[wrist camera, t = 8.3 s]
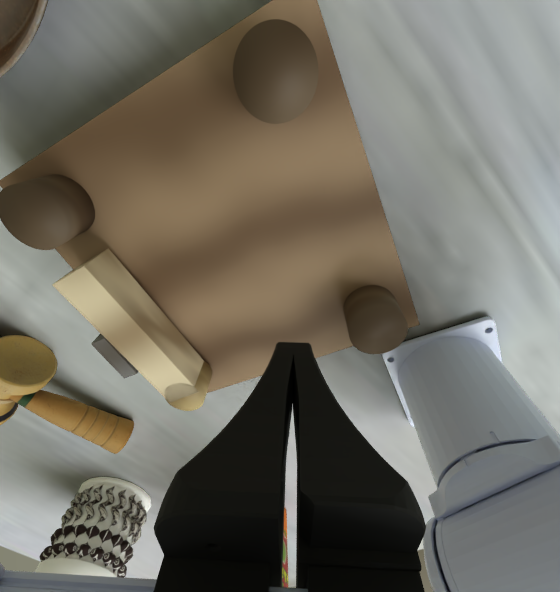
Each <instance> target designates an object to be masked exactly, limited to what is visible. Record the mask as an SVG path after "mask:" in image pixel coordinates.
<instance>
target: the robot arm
mask: <svg viewBox="0 0 560 592" xmlns="http://www.w3.org/2000/svg"><path fill="white" fill-rule="evenodd" d="M487 328H489V329H487ZM486 329H487V330H486ZM382 357H383V360H384V362H385V364H386V367H387V369H388V372H389V374H390V377H391V379H392V381H393V384H394V386H395V389H396V391H397V394H398V396H399V398H400V401H401V403H402V406H403V408H404V411H405V413H406V415H407V418H408V420H409V423H410V425H411V426H413V427H415V429H416V431H417V434H418V437H419V440H420V442H421V445H422V448H423V451H424V453H425V456H426V459H427V462H428V464H429V467H430V470H431V472H432V475H433V478H434V481H435V483H436V486H437V490H436V491H435V492H434V493H432V494H431V495H429V500H430V503H431V506H432V509H433V512H434V515H435V517H433V518H431V519H430V520H429V521H428V522H427V524H426V525H425V522H424V518H423V515H422V512H421V509H420V507H419V505H418V502H417V500H416V498H415V496H414V493H413V491H412V489H411V487H410V486H409V484H408V482H407V481H406V480H405V479H404V478H403V477H402V476H401V475H400V474H399V473H398V472H396V471H395V470H394V469H393V468H392V467H391V466H390V465H389V464H388V463H387V462H386V461H385V460H384V459H383V458H382V457H381V456H380V455H379V454H378V452H377V451H376V450H375V449H374V448H373V447H372V446H371V445H370V444H369V442H368V441H367V440H366V439H365V438H364V437H363V435H362V434H361V433H360V432H359V431H358V430H357V428H356V427H355V426H354V425H353V423H352V422H351V421H350V419H349V418H348V417H347V415H346V414H345V412H344V411H343V409H342V408H341V406H340V405H339V403H338V402H337V400H336V399H335V397H334V395H333V394H332V392H331V390H330V389H329V387H328V385H327V383H326V381H325V379H324V377H323V375H322V373H321V371H320V369H319V367H318V364H317V362H316V360H315V357H314V354H313V351H312V347H311V344H309V343H301V342H278V343H277V344H276V347H275V350H274V353H273V355H272V357H271V360H270V362H269V364H268V366H267V368H266V370H265V372H264V373H263V375H262V377H261V379H260V381H259V382H258V384H257V385H256V387H255V389H254V390H253V392H252V393H251V395H250V396H249V398H248V399H247V401H246V402H245V403H244V405H243V406H242V407H241V409H240V410H239V411H238V412H237V414H236V415H235V416H234V417H233V418H232V420H231V421H230V422H229V423H228V424H227V425H226V427H225V428H224V429H223V430H222V431H221V432H220V433H219V434H218V435H217V436H216V437H215V438H214V439H213V440H212V441H211V442H210V443H209V444H208V445H207V446H206V447H205V448H204V449H203V450H202V451H201V452H200V453H198V454H197V455H196V456H195V457H194V458H193V459H191V460H190V461H189V462H188V463H187V464H186V465H184V466H183V467H182V468H181V469H180V470H179V471H178V472H177V473H176V475H175V477H174V479H173V481H172V482H171V484H170V486H169V488H168V490H167V493H166V495H165V497H164V499H163V502H162V504H161V507H160V510H159V513H158V516H157V519H156V522H155V525H154V531H155V535H156V537H157V540H158V542H159V544H160V546H161V549H162V551H163V553H164V558H163V561H162V565H161V568H160V571H159V575H158V578H157V580H154V579H138V578H122V577H105V576H89V575H73V574H57V573H40V572H23V571H7V570H5V569H4V567H3V565H2V564H1V563H0V592H424V588H423V584H422V580H421V576H420V573H419V571H421V563H420V560H419V556H418V552H417V549H418V547H419V545H420V543H421V541H422V539H423V546H424V555H425V556H424V557H425V564H426V569H427V573H428V577H429V581H430V584H431V586H432V590H433V592H560V435H559V434H558V433H557V431H556V430H555V429H554V428H553V426H552V425H551V424H550V423H549V421H548V420H547V419H546V418H545V416H544V415H543V414H542V413H541V411H540V410H539V409H538V408H537V406H536V405H535V404H534V403H533V401H532V400H531V399H530V398H529V396H528V395H527V394H526V393H525V391H524V390H523V389H522V388H521V386H520V385H519V384H518V383H517V381H516V380H515V379H514V378H513V376H512V375H511V374H510V373H509V371H508V370H507V369H506V368H505V366H504V365H503V363H502V358H501V352H500V346H499V341H498V335H497V329H496V324H495V321H494V320H493V319H492V318H491V317H488V316H487V317H483V318H479V319H476V320H473V321H470V322H466V323H463V324H460V325H457V326H454V327H450V328H447V329H444V330H441V331H438V332H434V333H431V334H428V335H425V336H421V337H418V338H415V339H412V340H409V341H405V342H402V343H401V344H400V345H399V346H398V347H397V348H395V349H393V350H391V351H389V352H386V353H382ZM390 357H392V358H391V359H388V358H390ZM292 403H293V413H294V425H295V438H296V450H297V562H296V588H285V587H282V572H283V537H284V503H285V471H286V455H287V446H288V437H289V429H290V420H291V412H292Z"/></svg>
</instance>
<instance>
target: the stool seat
mask: <svg viewBox="0 0 560 592" xmlns="http://www.w3.org/2000/svg"><path fill="white" fill-rule="evenodd" d="M0 186H1V187H2V188H3V190H2V191H1V192H0V218H1V221H2V222H3V224H4V226H5V227H6V228H7V230H8V231H9V232H10V233H11V234H12V235H13V236H14V237H15V238H17V239H18V240H19V241H21V242H22V243H24V244H26V245H28V246H30V247H33V248H36V249H41V250H50V249H54V248H55V249H56V250H57V251H58V252H59V254H60V255H61V256H62V257H63V258H64V259H65V260H66V262H67V263H68V264H69V265H70V266H71V267H72V269H73V270H74V269H75V268H77V267H78V266H79V265H81V264H83V263H84V262H86V261H88V260H90V259H91V258H93V257H95V256H96V255H98V254H100V253H101V252H103V251H105V250H106V249H108V248H109V250H110V251H111V252H112V253H113V254H114V255H115V257H116V258H117V259H118V260H119V261H120V263H121V264H122V265H123V266H124V267H125V268H126V270H127V271H128V272H129V273H130V274H131V276H132V277H133V278H134V279H135V280H136V281H137V283H138V284H139V285H140V286H141V287H142V288H143V290H144V291H145V292H146V293H147V294H148V296H149V297H150V298H151V299H152V300H153V301H154V303H155V304H156V305H157V306H158V307H159V309H160V310H161V311H162V312H163V313H164V314H165V316H166V317H167V318H168V319H169V320H170V321H171V323H172V324H173V325H174V326H175V327H176V329H177V330H178V331H179V332H180V333H181V334H182V336H183V337H184V338H185V339H186V340H187V341H188V343H189V344H190V345H191V346H192V347H193V349H194V350H195V351H196V352H197V353H198V354H199V356H200V357H201V358H202V359H203V360H204V361H205V362H206V363H207V364H208V365H209V366H210V367H211V369H212V378H211V381H210V384H209V387H208V390H207V393H208V392H211V391H215V390H218V389H221V388H224V387H227V386H230V385H233V384H236V383H239V382H243V381H246V380H249V379H252V378H255V377H258V376H261V375H263V373H264V372H265V370H266V368H267V366H268V364H269V362H270V360H271V357H272V355H273V353H274V350H275V347H276V344H277V343H278V342H301V343H309V344H311V347H312V351H313V354H314V357H315V358H317V357H320V356H324V355H327V354H330V353H333V352H336V351H339V350H342V349H345V348H349V347H352V346H354V347H356V348H357V349H358V350H360V351H362V352H364V353H368V354H382V353H386V352H389V351H391V350H393V349H395V348H397V347H398V346H399V345H400V344H401V343H402V342H403V341H404V340H405V338H406V336H407V333H408V328H411V327H414V326H417V325H420V324H419V320H418V317H417V314H416V311H415V308H414V305H413V301H412V298H411V295H410V292H409V289H408V286H407V283H406V279H405V276H404V273H403V270H402V267H401V264H400V261H399V257H398V254H397V251H396V248H395V245H394V242H393V238H392V235H391V232H390V229H389V226H388V223H387V220H386V216H385V213H384V210H383V207H382V204H381V201H380V197H379V194H378V191H377V188H376V185H375V182H374V179H373V175H372V172H371V169H370V166H369V163H368V160H367V156H366V153H365V150H364V147H363V144H362V141H361V138H360V134H359V131H358V128H357V125H356V122H355V119H354V115H353V112H352V109H351V106H350V103H349V100H348V97H347V93H346V90H345V87H344V84H343V81H342V78H341V74H340V71H339V68H338V65H337V62H336V59H335V56H334V52H333V49H332V46H331V43H330V40H329V37H328V33H327V30H326V27H325V24H324V21H323V18H322V15H321V11H320V8H319V5H318V2H317V0H272V1H271V2H269V3H268V4H266V5H265V6H263V7H261V8H260V9H258V10H257V11H255V12H254V13H252V14H251V15H249V16H248V17H246V18H245V19H243V20H242V21H240V22H239V23H237V24H236V25H234V26H233V27H231V28H230V29H228V30H227V31H225V32H224V33H222V34H221V35H219V36H218V37H216V38H215V39H213V40H212V41H210V42H209V43H207V44H205V45H204V46H202V47H201V48H199V49H198V50H196V51H195V52H193V53H192V54H190V55H189V56H187V57H186V58H184V59H183V60H181V61H180V62H178V63H177V64H175V65H174V66H172V67H171V68H169V69H168V70H166V71H165V72H163V73H162V74H160V75H159V76H157V77H156V78H154V79H153V80H151V81H149V82H148V83H146V84H145V85H143V86H142V87H140V88H139V89H137V90H136V91H134V92H133V93H131V94H130V95H128V96H127V97H125V98H124V99H122V100H121V101H119V102H118V103H116V104H115V105H113V106H112V107H110V108H109V109H107V110H106V111H104V112H103V113H101V114H100V115H98V116H97V117H95V118H94V119H92V120H90V121H89V122H87V123H86V124H84V125H83V126H81V127H80V128H78V129H77V130H75V131H74V132H72V133H71V134H69V135H68V136H66V137H65V138H63V139H62V140H60V141H59V142H57V143H56V144H54V145H53V146H51V147H50V148H48V149H47V150H45V151H44V152H42V153H41V154H39V155H38V156H36V157H34V158H33V159H31V160H30V161H28V162H27V163H25V164H24V165H22V166H21V167H19V168H18V169H16V170H15V171H13V172H12V173H10V174H9V175H7V176H6V177H4V178H3V179H1V180H0ZM92 345H93V346H94V347H95V348H96V350H97V351H98V352H99V353H100V354H101V355H102V356H103V357H104V358H105V359H106V360H107V361H108V362H109V363H110V364H111V365H112V366H113V367H114V368H115V369H116V370H117V371H118V372H119V373H120V374H121V375H122V377H123V378H127V377H129V376H132V375H135V374H137V372H138V370H137V369H136V368H135V367H134V366H133V365H132V364H131V363H130V362H129V361H128V360H127V359H126V358H125V357H124V356H123V355H122V354H121V353H120V352H119V351H118V350H117V349H116V348H115V347H114V346H113V345H112V344H111V343H110V342H109V341H108V340H107V339H106V338H105V337H104V336H103V335H102V334H100V335H99V336H98V337H97V338H96V339H95V340H94V341H93V343H92Z"/></svg>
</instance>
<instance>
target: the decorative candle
mask: <svg viewBox="0 0 560 592" xmlns="http://www.w3.org/2000/svg"><path fill="white" fill-rule="evenodd" d="M71 506H72V507H71V508H69V509H67V511H66V514H64V515H63V516H62V525H61V526H62V528H60V529H57V530H56V531H55V532H54V534H53V535H52V536H51V542H52V543H51V544H52V546H48V547H47V548H45V549H44V551H43V552H42V553H41V555H40V560H41V562H40V563H39V565H38V567H37V569H36V570H35V572H40V573H57V574H73V575H89V576H105V577H122V578H124V577H125V575H126V570H127V568H126V566H125V565H124V564H126V563H127V562H128V560H130V559H131V558H132V556H133V549H132V547H130V546H132V545H133V544H134V543H136V542H137V541H138V540H139V538H140V536H141V527H142V526H143V525H144V524H145V522H146V517H147V511H148V510H149V508H150V507H151V499H150V496H149V495H148V494H147V493H146V492H145V491H144V490H143V489H142V488H140V487H138V486H137V485H135V484H133V483H131V482H128V481H125V480H122V479H119V478H111V477H96V478H90V479H89V480H87V481H85V482H83V483H82V485H81V487H80V490H79V493H78V494H76V495H75V499H73V500H72V501H71Z"/></svg>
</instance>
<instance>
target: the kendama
mask: <svg viewBox="0 0 560 592" xmlns="http://www.w3.org/2000/svg"><path fill="white" fill-rule="evenodd" d="M56 370H57V360H56V358H55V355H54V353H53V352H52V351H51V350H50V349H49V348H48V347H47V346H46V345H44V344H43V343H41V342H39V341H38V340H36V339H34V338H31V337H28V336H22V335H9V336H4V337H1V338H0V425H1V424H3V423H4V422H5V421H7V420H8V419H9V418H10V417H11V416H12V415H13V414H14V413H15V411H16V410H17V407H18V404H19V405H21V406H23V407H25V408H26V409H28V410H30V411H31V412H33V413H35V414H37V415H38V416H40V417H42V418H43V419H45V420H47V421H49V422H51V423H53V424H55V425H57V426H59V427H61V428H63V429H65V430H67V431H71V432H72V433H73V434H76V435H78V436H81V437H82V438H84V439H86V440H88V441H91V442H92V443H94V444H97V445H100V446H101V447H102V448H104V449H106V450H108V451H110V452H112V453H114V454H116V453H118V452H119V451H120V450H121V449H122V448H123V447H124V446H125V445H126V443H127V441H128V440H129V438H130V436H131V434H132V431H133V428H134V422H133V421H131V420H128V419H125V418H122V417H119V416H118V417H117V416H116V415H114V414H111V413H107V412H105V411H103V410H98V409H97V408H95V407H92V406H87V405H86V404H84V403H81V402H79V401H76V400H73V399H70V398H67V397H64V396H61V395H58V394H54V393H50V392H47V391H43V390H40V389H42V388H43V387H44V386H45V385H46V384H47V383H48V382H49V381H50V380H51V379H52V377H53V376H54V375H55V373H56Z"/></svg>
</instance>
